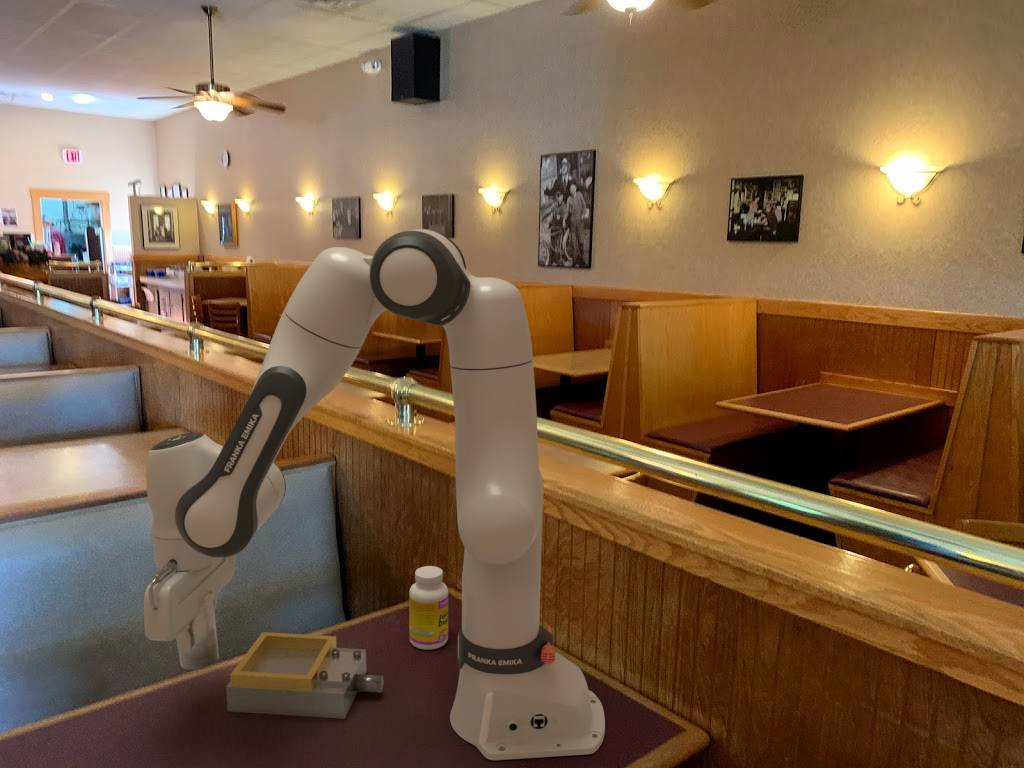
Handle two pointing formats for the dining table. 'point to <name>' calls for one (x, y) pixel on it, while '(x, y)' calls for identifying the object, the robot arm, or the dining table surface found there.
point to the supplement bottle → (428, 609)
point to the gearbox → (299, 677)
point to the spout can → (202, 638)
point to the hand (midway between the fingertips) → (197, 636)
